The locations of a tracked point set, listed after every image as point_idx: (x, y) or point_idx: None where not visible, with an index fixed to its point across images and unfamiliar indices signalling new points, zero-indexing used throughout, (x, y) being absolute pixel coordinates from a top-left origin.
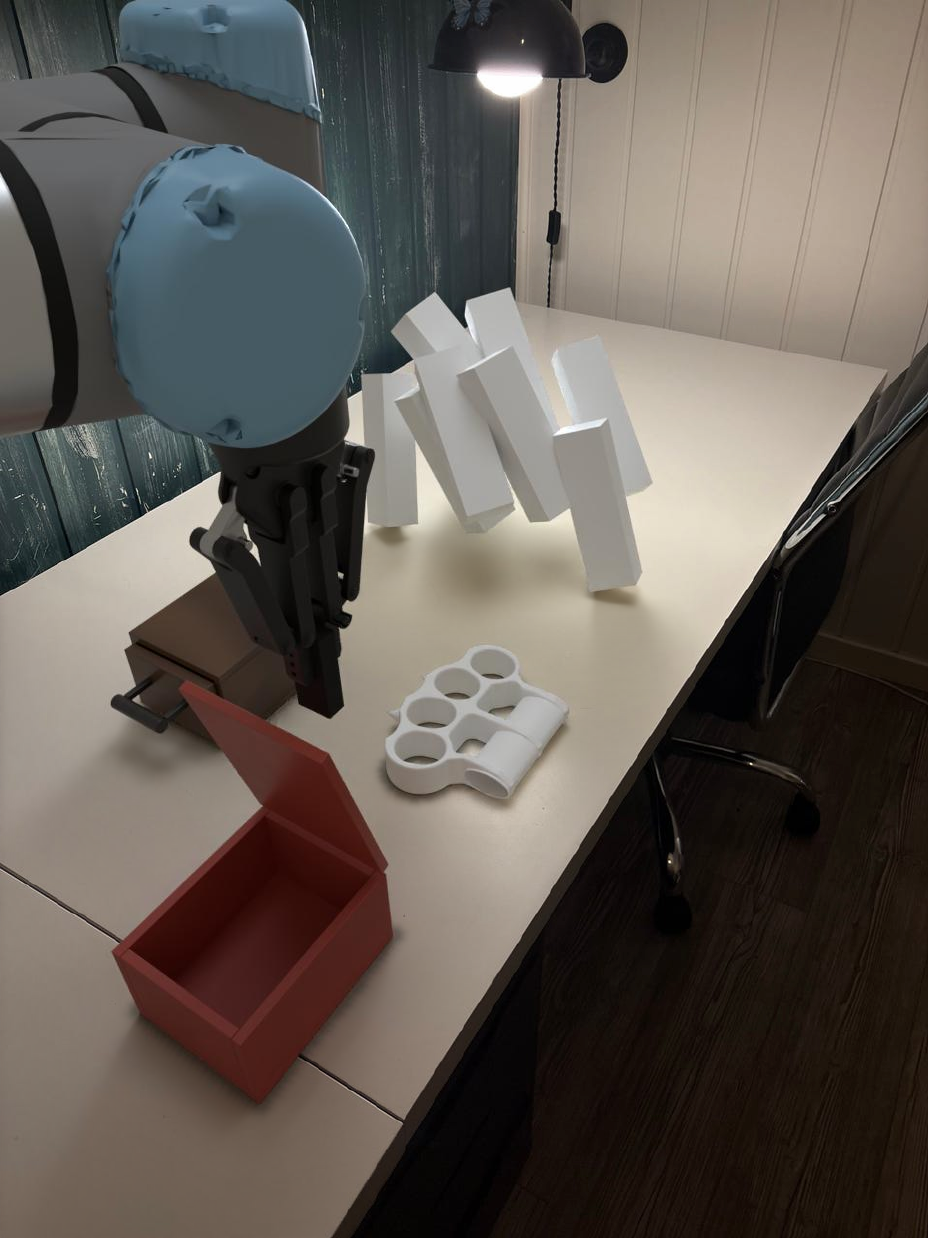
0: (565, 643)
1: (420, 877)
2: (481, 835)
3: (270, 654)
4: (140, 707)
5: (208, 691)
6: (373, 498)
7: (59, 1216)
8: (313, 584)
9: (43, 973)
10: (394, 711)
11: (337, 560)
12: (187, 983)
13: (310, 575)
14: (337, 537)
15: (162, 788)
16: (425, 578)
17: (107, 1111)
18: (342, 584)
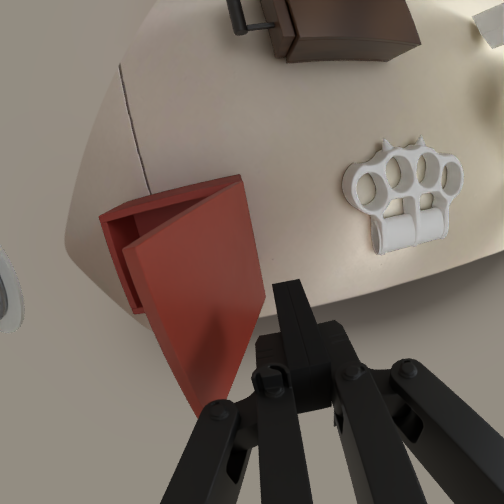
0: (480, 188)
1: (299, 247)
2: (345, 252)
3: (355, 43)
4: (237, 9)
5: (151, 291)
6: (487, 17)
7: (75, 260)
8: (350, 457)
9: (101, 143)
10: (386, 143)
11: (421, 441)
12: (150, 210)
13: (355, 470)
14: (446, 470)
15: (223, 59)
16: (471, 73)
17: (99, 236)
18: (398, 415)
